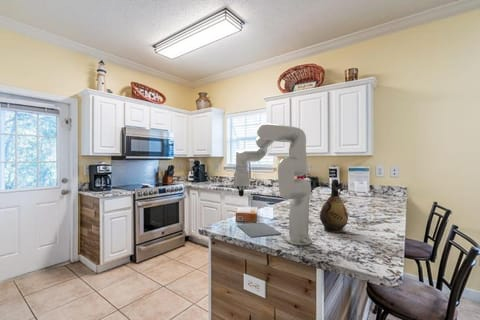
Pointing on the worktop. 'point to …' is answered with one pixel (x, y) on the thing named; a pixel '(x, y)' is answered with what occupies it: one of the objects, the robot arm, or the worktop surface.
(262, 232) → the mat
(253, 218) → the cracker box
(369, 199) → the worktop surface
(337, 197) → the ceramic jug
